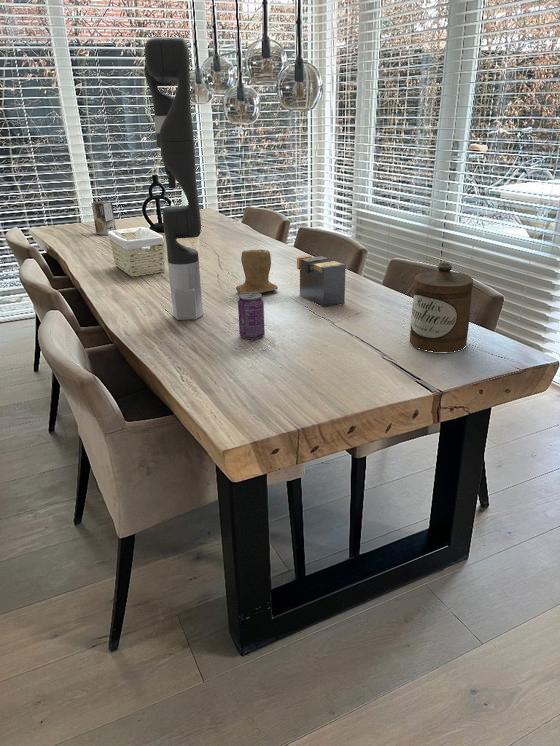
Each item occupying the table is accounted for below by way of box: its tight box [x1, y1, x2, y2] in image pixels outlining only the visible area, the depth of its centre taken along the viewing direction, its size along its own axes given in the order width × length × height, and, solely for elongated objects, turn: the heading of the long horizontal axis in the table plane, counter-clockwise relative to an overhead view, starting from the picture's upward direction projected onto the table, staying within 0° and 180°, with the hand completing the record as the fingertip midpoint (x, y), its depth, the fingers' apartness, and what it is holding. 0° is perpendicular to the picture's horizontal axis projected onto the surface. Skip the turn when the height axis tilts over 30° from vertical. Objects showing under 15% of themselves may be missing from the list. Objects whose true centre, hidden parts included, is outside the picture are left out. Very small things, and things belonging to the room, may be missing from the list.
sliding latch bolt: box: [296, 254, 314, 271], centre depth 190 cm, size 18×5×4 cm, turn 28°
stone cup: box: [235, 248, 279, 295], centre depth 198 cm, size 15×12×15 cm
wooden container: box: [409, 261, 474, 353], centre depth 150 cm, size 15×15×22 cm
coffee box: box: [91, 200, 117, 236], centre depth 300 cm, size 9×6×16 cm
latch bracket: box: [299, 255, 347, 309], centre depth 189 cm, size 16×8×13 cm, turn 28°
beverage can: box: [237, 292, 266, 340], centre depth 160 cm, size 7×7×12 cm
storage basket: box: [107, 226, 166, 277], centre depth 230 cm, size 24×16×15 cm
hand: (172, 188), depth 190 cm, fingers closed
